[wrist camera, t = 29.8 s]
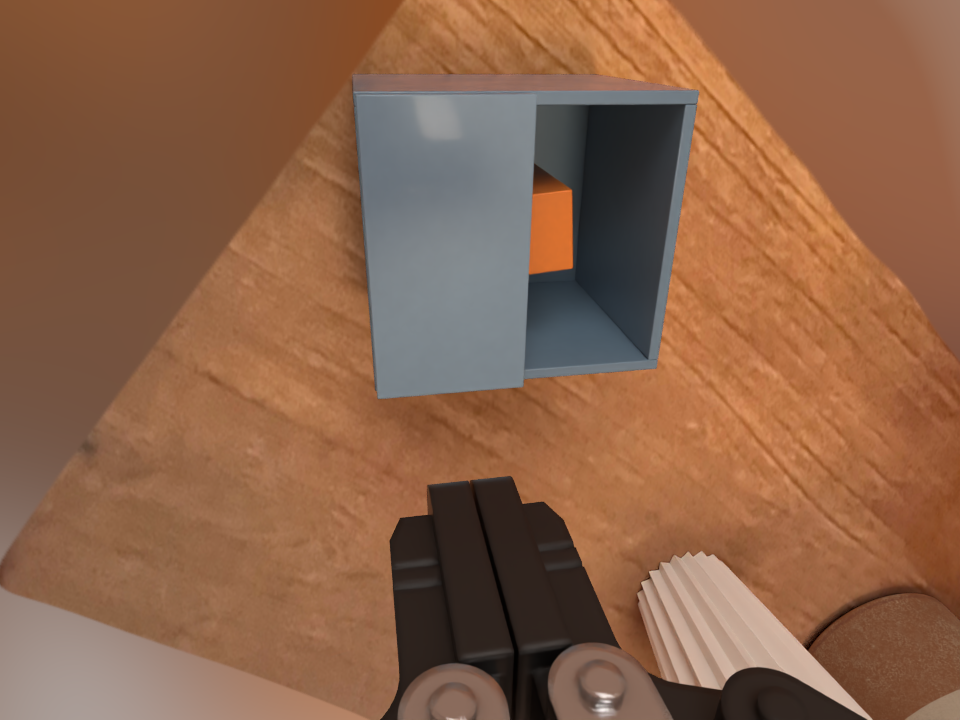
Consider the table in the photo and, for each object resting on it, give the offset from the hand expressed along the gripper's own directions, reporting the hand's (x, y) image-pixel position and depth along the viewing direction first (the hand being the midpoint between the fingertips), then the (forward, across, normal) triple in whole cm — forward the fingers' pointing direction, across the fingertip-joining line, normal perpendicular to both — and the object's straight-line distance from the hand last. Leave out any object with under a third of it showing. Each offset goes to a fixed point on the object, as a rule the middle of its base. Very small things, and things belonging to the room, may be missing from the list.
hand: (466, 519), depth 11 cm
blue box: (+27, -5, 0) cm, 27 cm away
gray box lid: (+15, -2, 0) cm, 15 cm away
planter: (+27, -45, +46) cm, 70 cm away
